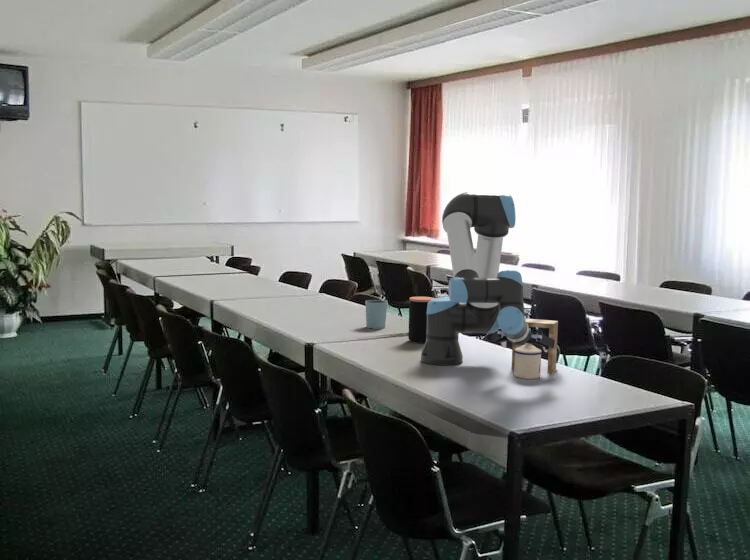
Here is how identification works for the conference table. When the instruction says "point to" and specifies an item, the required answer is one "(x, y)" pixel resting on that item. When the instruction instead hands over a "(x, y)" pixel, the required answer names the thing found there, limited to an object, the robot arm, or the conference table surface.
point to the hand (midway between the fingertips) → (525, 346)
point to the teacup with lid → (527, 362)
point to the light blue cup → (376, 313)
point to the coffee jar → (418, 318)
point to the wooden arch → (552, 334)
